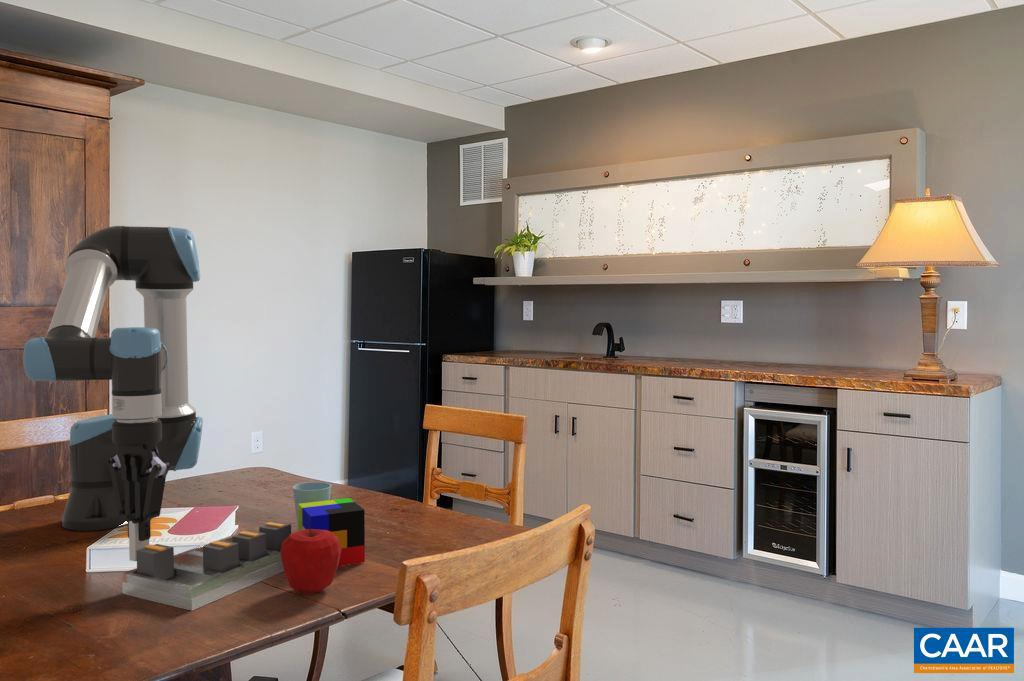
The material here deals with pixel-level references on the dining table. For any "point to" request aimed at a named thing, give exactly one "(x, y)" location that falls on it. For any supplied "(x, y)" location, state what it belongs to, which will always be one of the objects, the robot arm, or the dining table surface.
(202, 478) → the dining table surface
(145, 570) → the block
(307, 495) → the cup
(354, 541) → the puzzle toy
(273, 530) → the block
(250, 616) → the dining table surface
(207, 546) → the block
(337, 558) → the apple
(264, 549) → the block
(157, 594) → the panel
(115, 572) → the dining table surface
